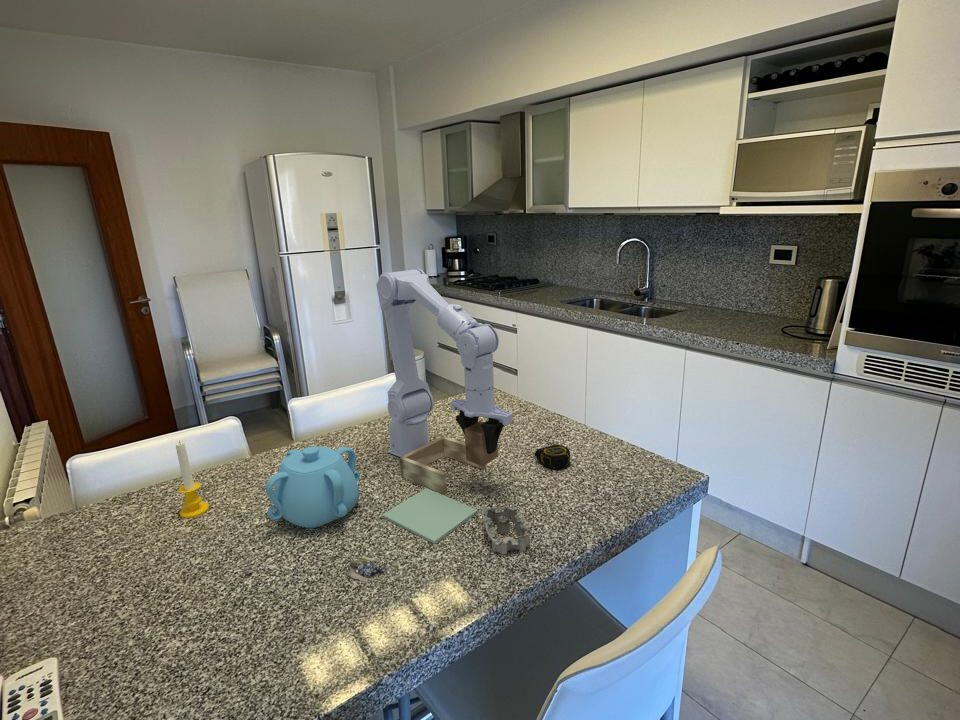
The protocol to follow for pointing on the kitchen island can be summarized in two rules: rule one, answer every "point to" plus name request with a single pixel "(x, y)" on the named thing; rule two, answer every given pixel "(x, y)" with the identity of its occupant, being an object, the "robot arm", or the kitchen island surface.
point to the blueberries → (365, 568)
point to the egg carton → (505, 528)
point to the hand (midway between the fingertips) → (481, 449)
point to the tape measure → (553, 456)
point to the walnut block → (477, 445)
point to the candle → (189, 486)
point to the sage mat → (430, 515)
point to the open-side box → (418, 459)
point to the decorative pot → (314, 486)
